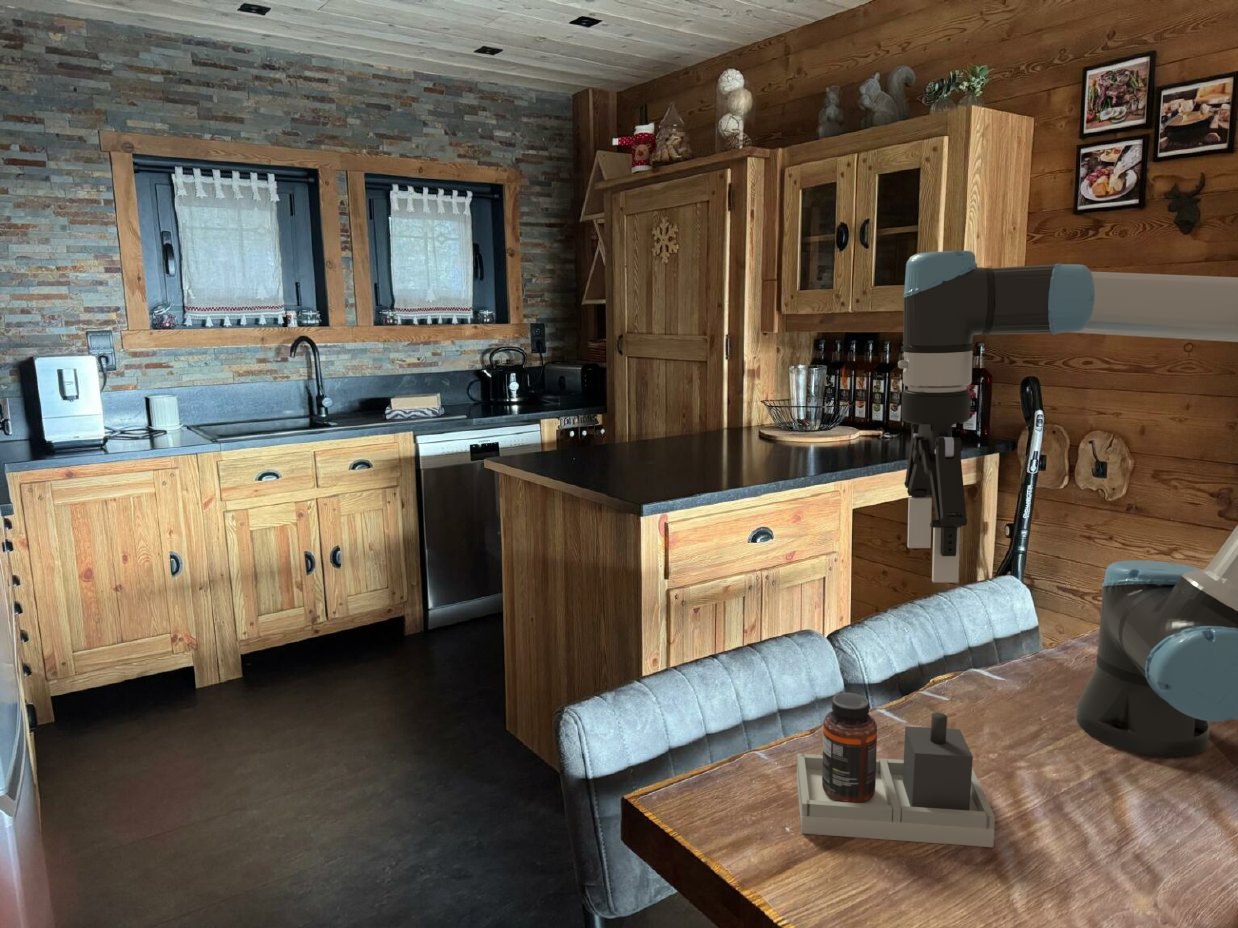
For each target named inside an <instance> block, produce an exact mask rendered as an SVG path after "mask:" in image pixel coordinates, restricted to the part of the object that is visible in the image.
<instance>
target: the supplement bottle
mask: <svg viewBox="0 0 1238 928" xmlns="http://www.w3.org/2000/svg"><path fill="white" fill-rule="evenodd" d="M831 701H832V706H831V711H829V712H828V713H827V714H826V715H825V717H824V718H823V721H822V723H823V724H822V725H823V727H822V730H823V732H822V755H823V764H822V786H823V789H824V791H825V793H826V794H827V795H828V796H830V797H831V798H833V799H835V800H837V801H841V802H849V803H862V802H865V801H868V800H869V799H871V798H872V797H873V795H874V793H875V784H876V758H877V750H878V749H877V744H878V743H877V742H878V726H877V722H876V720H875V719H874V717H873V716H872V715H871V714H869V712H870V710H869V709H870V707H869V705H870V703H869V700H868V699H867V698H866V697H865V696H863V695H861V694H858V693H853V692H841V693H838V694H836V695H834V696H833V697H832V700H831Z"/></svg>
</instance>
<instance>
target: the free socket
mask: <svg viewBox="0 0 1238 928" xmlns="http://www.w3.org/2000/svg"><path fill="white" fill-rule="evenodd" d="M796 757H797V758H796V761H797V762H796V770H797V769H798V780H799V790H800V800H801V810H802V816H810V817H825V818H839V819H853V820H868V821H882V822H892V807H891V805H878V804H863V803H849V802H834V801H819V800H809V792H808V784H807V775H806V769H816V770H822V764H823V754H811V753H797V756H796ZM876 773H879V758H878V757H876Z"/></svg>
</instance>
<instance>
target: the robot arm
mask: <svg viewBox="0 0 1238 928" xmlns="http://www.w3.org/2000/svg"><path fill="white" fill-rule="evenodd" d="M904 277H905V278H904V288H903V290H904V292H903V294H902V295H903V327H902V328H903V336H902V337H903V339H902V340H903V343H902V344H903V345H902V346H903V347H902V348H903V349H902V350H903V354H902V356H903V358H904V359H902V360H899V361H898V362H897V368H899V369H903V371H902V384H903V385H904V386H905V387H907V388H906V389H904V390H903V392H902V393H901V419H902V420H903V422H905V423H908V424H911V425H910V429H911V433H910V434H911V436H910V444H909V452H908V458H907V459H908V460H907V465H906V472H905V473H906V474H905V480H904V486H905V488H906V489H907V490H906V491H907V492H906V493H907V494H908V496H909V497H908V505H907V507H908V509H907V543H906V544H907V545H906V546H907V548H908V549H931V541H932V560H931V561H932V565H931V567H932V568H931V570H932V571H931V574H932V575H931V581H932V583H959V576H960V575H959V572H960V545H961V528H962V527H966V525H968V518H967V511H966V499H965V498H966V497H965V488H964V478H963V477H964V475H963V467H962V443H963V442H962V440H961V437H960V436H953V432H952V426H954V425H955V424H956V425H961V424H964V423H966V422H968V421H969V420H970V417H971V398H972V397H971V392H970V390H969V389H967V388H966V387H967V386H970V385H971V384H972V382H973V381H972V380H973V377H972V376H973V353H974V352H973V338H974V336H979V335H980V336H988V335H1034V334H1035V335H1037V334H1042V335H1043V334H1051V335H1052V336H1053V335H1054V336H1056V335H1058V334H1061V333H1062V334H1064V333H1066V334H1067V333H1076V334H1093V335H1112V336H1126V337H1127V336H1128V337H1146V338H1160V339H1161V338H1163V339H1181V340H1195V341H1196V340H1198V341H1199V340H1200V341H1216V342H1231V343H1232V342H1233V343H1238V277H1234V276H1233V277H1231V276H1213V275H1212V276H1210V275H1209V276H1208V275H1189V274H1188V275H1183V274H1163V273H1162V274H1159V273H1138V272H1137V273H1136V272H1133V273H1132V272H1111V271H1110V272H1108V271H1106V272H1105V271H1091V270H1090V269H1089V267H1088V266H1087V265H1085V264H1070V263H1069V264H1067V263H1066V264H1065V263H1064V264H1063V263H1055V264H1053V263H1052V264H1040V265H1039V264H1037V265H1022V266H1021V265H1020V266H1006V267H1004V266H1003V267H994V268H993V267H983V266H982V267H979V266H978V263H977V261H976V255H975V252H973V251H971V250H955V251H953V250H948V251H947V250H946V251H945V250H944V251H929V252H920V253H915V254H913V255H911V256H910V257H909V259H908V260H907V261H906V264H905V276H904ZM931 496H932V497H931ZM932 501H933V502H932ZM932 503H933V504H932ZM932 505H933V506H934V507H933V510H934V514H935V519H932ZM932 528H933V530H932ZM932 533H933V535H932ZM931 535H932V536H933V537H931ZM931 538H932V539H931ZM1101 588H1102V595H1101V597H1102V598H1101V607H1100V608H1101V609H1100V619H1099V630H1098V632H1099V633H1098V641H1097V643H1098V644H1097V653H1096V662H1095V668H1094V669H1093V672H1092V673H1091V676H1090V678H1089V679H1088V681H1087V683H1086V685H1085V687H1084V689H1083V691H1082V693H1081V694H1080V697H1079V698H1078V701H1077V709H1076V721H1077V723H1078V725H1079V726H1080V728H1081V729H1083V731H1084V732H1085V733H1087V734H1088V735H1090V737H1093V738H1095V739H1096V740H1098V741H1099V742H1101V743H1104V744H1106V745H1109V746H1111V747H1113V748H1117V749H1118V750H1122V751H1124V752H1125V751H1126V752H1128V753H1133V754H1136V755H1141V756H1145V757H1152V758H1159V759H1160V758H1161V759H1185V758H1193V757H1196V756H1198V755H1201V754H1203V753H1204V752H1205V751H1206V750H1207V749H1208V746H1209V739H1210V738H1209V737H1210V732H1211V731H1210V724H1209V722H1212V723H1213V722H1216V723H1219V722H1220V723H1221V722H1224V721H1226V722H1227V721H1231V720H1233V721H1235V720H1238V524H1237V525H1236V526H1235V528H1234V529H1233V531H1232V532H1231V533H1230V535H1229V536H1228V538H1227V539H1226V541H1225V542H1224V543H1223V544H1222V546H1221V547H1220V549H1219V550H1218V552H1217V553H1216V554H1215V556H1213V559H1212V560H1211V561H1210V563H1209V564H1208V565H1207V566H1206V567H1205V568H1203V569H1201V568H1198V567H1195V566H1191V565H1187V564H1181V563H1176V562H1174V563H1173V562H1166V561H1165V562H1164V561H1154V560H1137V559H1136V560H1133V559H1131V560H1119V561H1114V562H1112V563H1110V564H1109V565H1108V566H1107V567H1106V569H1105V573H1104V581H1103V583H1102V584H1101Z"/></svg>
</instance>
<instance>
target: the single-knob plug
mask: <svg viewBox="0 0 1238 928" xmlns="http://www.w3.org/2000/svg"><path fill="white" fill-rule="evenodd" d="M930 723H931V724H930V727H921V726H907V725H906V726H905V728H904V730H905V731H904V744H903V745H904V749H903V760H904V765H903V784H904V788H905V791H906V794H907V797H908V800H909V804H910V807H923V808H938V809H953V810H968V811H969V808H970V793H971V778H972V768H973V762H974V761H973V759H974V756H973V754H972V752H971V750H970V747H969V745H968V743H967V741H966V739H965V737H964V735H963V733H962V731H961V729H959V728H947V726H948V715H946V714H944V713H943V712H934V713H932V714H931V722H930Z"/></svg>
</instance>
